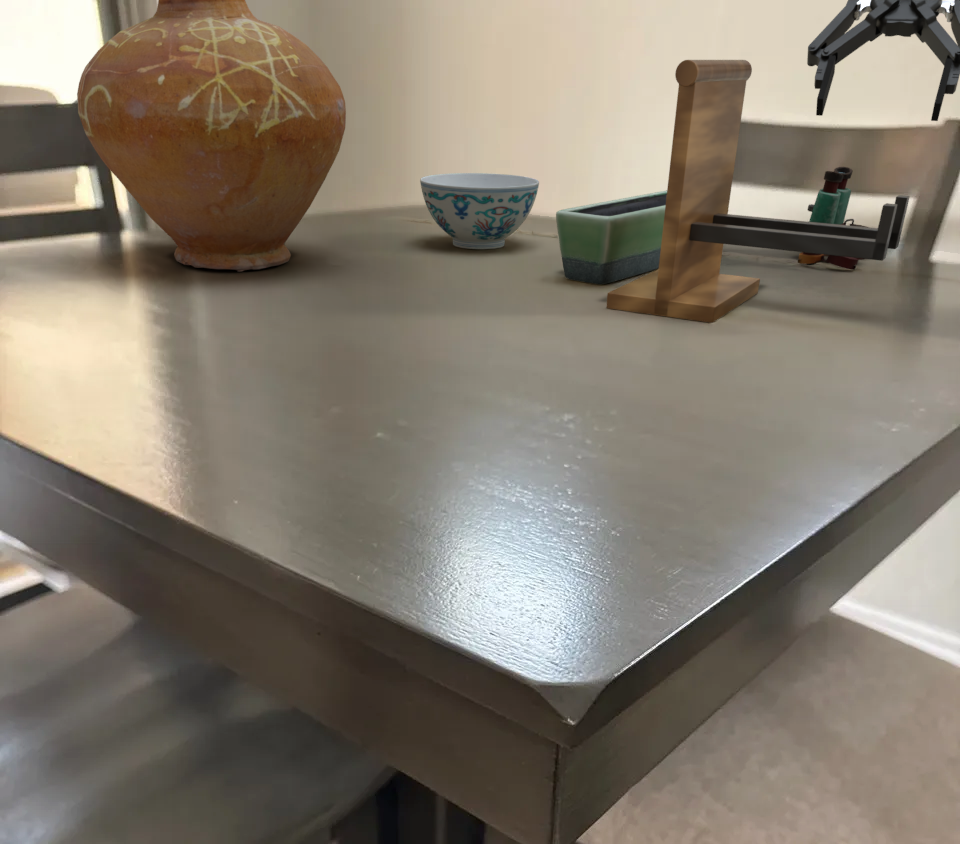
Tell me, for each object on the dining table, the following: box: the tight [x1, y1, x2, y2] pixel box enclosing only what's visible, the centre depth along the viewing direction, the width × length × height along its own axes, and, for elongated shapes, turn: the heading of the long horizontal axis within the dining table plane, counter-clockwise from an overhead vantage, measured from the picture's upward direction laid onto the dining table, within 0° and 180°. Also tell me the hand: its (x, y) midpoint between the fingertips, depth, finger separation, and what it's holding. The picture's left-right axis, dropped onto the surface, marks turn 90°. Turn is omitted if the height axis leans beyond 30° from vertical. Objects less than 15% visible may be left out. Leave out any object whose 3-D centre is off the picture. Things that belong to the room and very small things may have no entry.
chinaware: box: [419, 172, 540, 250], centre depth 125 cm, size 15×15×8 cm
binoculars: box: [797, 166, 867, 271], centre depth 117 cm, size 9×11×10 cm
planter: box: [555, 189, 667, 285], centre depth 114 cm, size 28×7×7 cm, turn 142°
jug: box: [76, 0, 347, 272], centre depth 106 cm, size 28×28×30 cm
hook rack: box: [606, 59, 911, 324], centre depth 93 cm, size 24×17×22 cm
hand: (876, 110), depth 119 cm, fingers open, 13 cm apart
